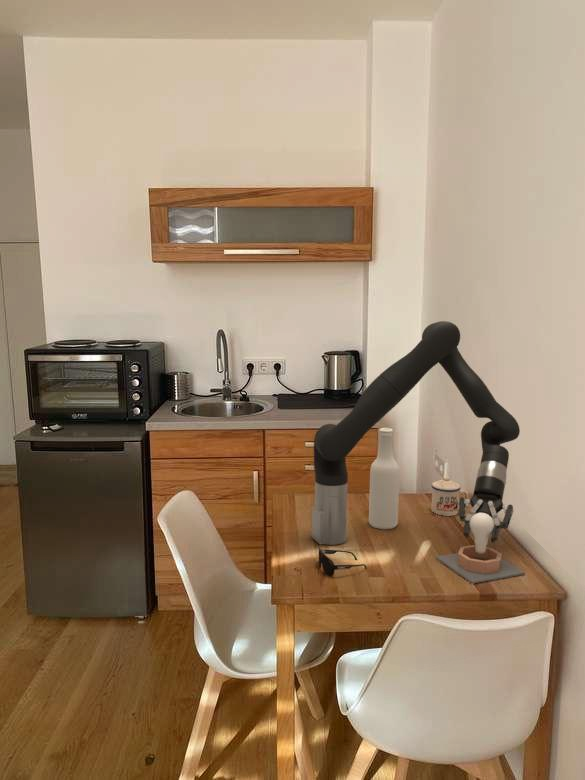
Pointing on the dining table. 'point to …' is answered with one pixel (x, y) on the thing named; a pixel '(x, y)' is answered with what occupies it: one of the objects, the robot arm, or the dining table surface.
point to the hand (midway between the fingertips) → (479, 538)
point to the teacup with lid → (446, 497)
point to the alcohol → (384, 485)
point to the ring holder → (479, 564)
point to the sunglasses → (329, 565)
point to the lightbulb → (481, 530)
